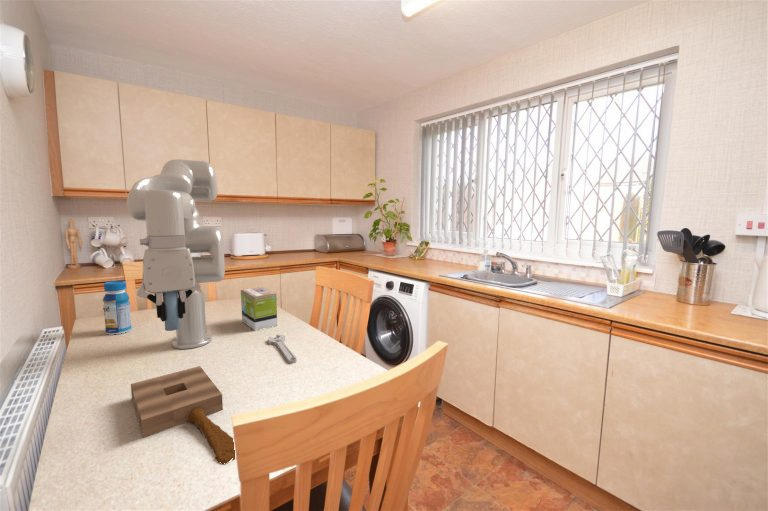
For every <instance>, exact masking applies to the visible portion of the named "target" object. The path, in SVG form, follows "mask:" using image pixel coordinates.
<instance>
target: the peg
mask: <svg viewBox="0 0 768 511" xmlns="http://www.w3.org/2000/svg"><path fill="white" fill-rule="evenodd" d="M162 301H163V304H164V305H165V312H166V321H164V330H165V331H166V332H171V331H176V330H177V329H179V328H180V325H179V310H178V293H177V291H172V292H163V297H162Z"/></svg>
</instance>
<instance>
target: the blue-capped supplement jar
mask: <svg viewBox="0 0 768 511" xmlns="http://www.w3.org/2000/svg"><path fill="white" fill-rule="evenodd" d="M103 290H104V292H105V294H104V296H103V297H102V302H103V306H102V310H103V317H104V324H105V325H104V326H105V334H107V335H109V336H115V335H114V334H116V335H121V333H122V334H126V333H128V332H130V331H131V330H132V320H131V319H132V315H131V302H130V301H129V300H130V296H129V294H128V293H127V292H126V290H127V282H126V281H125V280H112V281H107V282H104V284H103ZM125 332H126V333H125Z"/></svg>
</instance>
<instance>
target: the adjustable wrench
mask: <svg viewBox="0 0 768 511" xmlns="http://www.w3.org/2000/svg"><path fill="white" fill-rule="evenodd" d="M285 341H286V336H285V335H284V334H276V338H274V337H271V336H269V337H268V338H267V342H268V343H267V345H272V344H273V345H272V346H276V347H277V348H278V349H279V351H280V352H281V354H282V355H283V357H284V358H285V360H286V362H288V364H291V365H292V364H296V363H298V362H297V359H298V358H297V357H296V356H295V354H294V353H293V352H292V351H291V349H290V348H289V347H288V346H287V345H286V344H285Z"/></svg>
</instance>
